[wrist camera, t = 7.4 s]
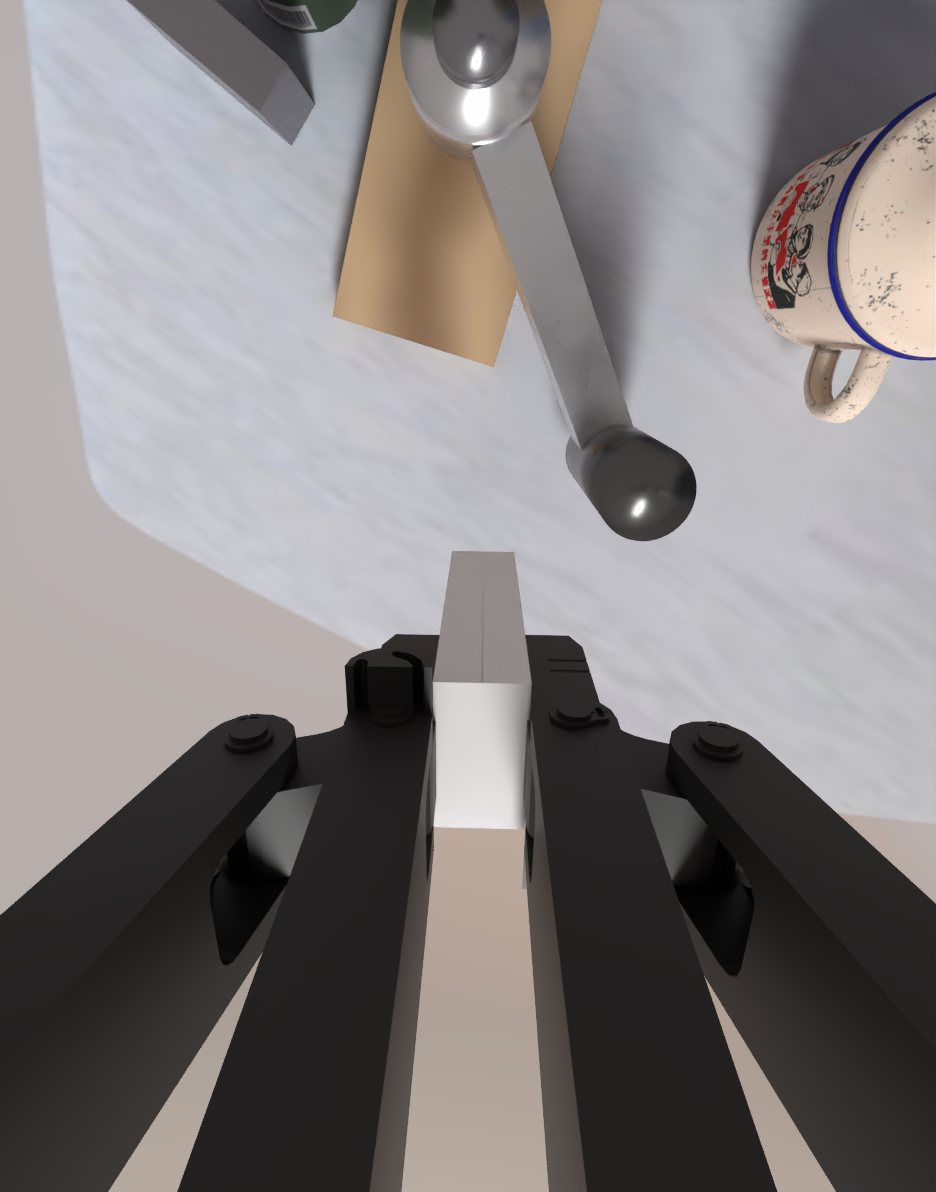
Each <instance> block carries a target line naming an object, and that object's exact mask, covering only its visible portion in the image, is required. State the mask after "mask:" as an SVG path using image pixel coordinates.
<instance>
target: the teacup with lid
mask: <svg viewBox="0 0 936 1192" xmlns="http://www.w3.org/2000/svg"><path fill="white" fill-rule="evenodd" d="M751 280H752V286H753V291H754V295H755V298H756V301H757V304H758V306H759V308H760V310H761V312H762V314H763V315H764V317H765V319H766V320H767V321H768V323H769V324H770V325H771V326H772V327H773V328H774V329H775V330H776V331H777V332H778V333H779V334H781V335H782V336H783V337H785V338H787V339H788V340H790V341H792V342H794V343H796V344H799V345H802V346H805V347H810V348H814V349H813V352H812V355H811V358H810V360H809V364H808V367H807V370H806V375H805V380H804V397H805V402H806V405H807V407H808V409H809V411H810V412H811V413H812V414H813V415H814V416H815V417H817V418H818V419H821V420H824V421H828V422H832V423H842V422H845V421H848V420H850V419H852V418H854V417H855V416H856V415H858V414H859V413H860V412H861V411H862V410H863V409H864V408H865V407H866V406H867V404H868V403H869V402H870V401H871V399H872V398H873V396H874V395H875V393H876V392H877V390H878V388H879V386H880V384H881V382H882V380H883V378H884V376H885V374H886V371H887V369H888V367H889V364H890V362H891V359H892V357H893V356H895V357H899V358H904V359H909V360H936V92H935V93H933V94H930V95H928V96H926V97H925V98H923V99H921V100H920V101H918V102H916V103H915V104H913V105H912V106H910V107H909V108H907V109H906V110H905V111H903V112H902V113H901V114H899V115H898V116H897V117H896V118H895V119H893V120H892V121H891V122H890V123H889V124H887V125H885V126H883V127H881V128H879V129H877V130H875V131H873V132H871V133H869V134H867V135H865V136H863V137H861V138H859V139H857V140H855V141H853V142H851V143H849V144H847V145H845V146H843V147H841V148H839V149H837V150H835V151H833V152H831V153H829V154H827V155H825V156H823V157H821V158H819V159H817V160H815V161H814V162H812V163H810V164H809V165H807V166H806V167H805V168H803V169H802V170H800V171H799V172H798V173H797V174H796V175H795V176H793V177H792V178H791V179H790V180H789V181H788V182H787V183H786V184H785V185H784V186H783V188H782V189H781V190H780V191H779V192H778V194H777V195H776V196H775V198H774V199H773V201H772V202H771V204H770V205H769V207H768V209H767V211H766V212H765V214H764V216H763V219H762V221H761V223H760V226H759V228H758V231H757V234H756V237H755V241H754V245H753V250H752V258H751ZM843 350H851V351H861V353H860V356H859V358H858V361H857V363H856V365H855V368H854V370H853V372H852V375H851V377H850V379H849V381H848V382H847V384H846V386H845V387H844V389H843V390H842V392H841V393H840V394H839V395H838V396H837V397H836V398H835V399H834V400H833V397H832V380H833V375H834V372H835V368H836V365H837V362H838V360H839V357H840V354H841V352H842V351H843Z"/></svg>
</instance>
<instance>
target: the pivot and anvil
mask: <svg viewBox="0 0 936 1192" xmlns="http://www.w3.org/2000/svg"><path fill="white" fill-rule="evenodd" d="M126 1H127V2H129V3H130V4H131V5H132V6H133V7H134V8H135V9H136V10H137V11H138V12H139V13H140V14H141V15H142V16H143V17H144V18H145V19H146V20H147V21H148V22H149V23H150V24H151V25H152V26H153V27H154V28H155V29H157V30H158V31H159V32H160V33H161V34H162V35H163V36H164V37H165V38H166V39H167V40H168V41H169V42H170V43H171V44H172V45H173V46H174V47H175V48H176V49H177V50H179V51H180V52H181V53H182V54H183V55H185V56H186V57H187V58H188V59H189V60H190V61H192V62H193V63H194V64H195V65H196V66H198V67H199V68H200V69H201V70H202V71H204V72H205V73H206V74H207V75H208V76H209V77H211V78H212V79H213V80H214V81H215V82H217V83H218V84H219V85H220V86H221V87H222V88H224V89H225V90H226V91H227V92H228V93H230V94H231V95H232V96H233V97H234V98H236V99H237V100H238V101H239V102H240V103H241V104H243V105H244V106H245V107H246V108H247V109H249V110H250V111H251V112H252V113H253V114H254V115H256V116H257V117H258V118H259V119H260V120H262V121H263V122H264V123H265V124H266V125H267V126H269V127H270V128H271V129H272V130H273V131H275V132H276V133H277V134H278V135H279V136H281V137H282V138H283V139H284V140H285V141H286V142H288V143H289V144H290V145H292V144H293V142H294V140H295V138H296V137H297V135H298V133H299V131H300V130H301V128H302V126H303V124H304V123H305V121H306V119H307V117H308V116H309V114H310V112H311V110H312V109H313V107H314V105H315V104H314V102H313V101H312V99H311V98H310V96H309V95H308V94H307V92H306V91H305V89H304V88H303V86H302V85H301V83H300V82H299V80H298V79H297V77H296V76H295V75H294V73H293V72H292V70H291V69H290V67H289V66H288V64H287V63H286V62H285V61H284V60H283V59H282V58H280V57H279V56H278V55H277V54H276V53H275V52H274V51H272V50H271V49H270V48H269V47H268V46H267V45H266V44H264V43H263V42H262V41H261V40H260V39H259V38H258V37H256V36H255V35H254V34H253V33H252V32H251V31H250V30H248V29H247V28H246V27H245V26H244V25H243V24H242V23H240V22H239V21H238V20H237V19H236V18H235V17H234V16H232V15H231V14H230V13H229V12H228V11H227V10H226V9H224V8H223V7H222V6H221V5H220V4H219V3H218V2H216V1H215V0H126ZM519 27H520V18H519V10H518V6H517V2H516V0H436V2H435V6H434V9H433V15H432V31H433V39H434V46H435V52H436V56H437V59H438V62H439V64H440V66H441V68H442V70H443V71H444V73H445V74H446V75H447V76H448V78H449V79H450V80H452V81H453V82H454V83H456V84H457V85H459V86H461V87H463V88H466V89H471V90H480V89H485V88H488V87H490V86H492V85H494V84H495V83H497V82H498V81H499V80H500V79H501V78H502V77H503V76H504V75H505V74H506V73H507V71H508V70H509V68H510V66H511V64H512V62H513V59H514V56H515V53H516V48H517V42H518V36H519Z"/></svg>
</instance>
